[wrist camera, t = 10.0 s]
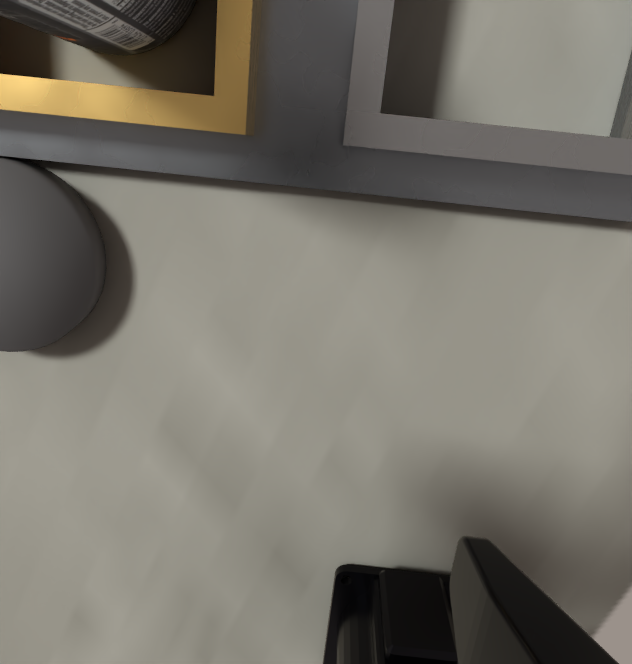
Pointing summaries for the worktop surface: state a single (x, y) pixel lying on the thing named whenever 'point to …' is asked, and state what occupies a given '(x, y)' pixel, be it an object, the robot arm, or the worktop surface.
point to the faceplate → (317, 122)
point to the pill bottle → (103, 21)
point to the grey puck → (44, 257)
